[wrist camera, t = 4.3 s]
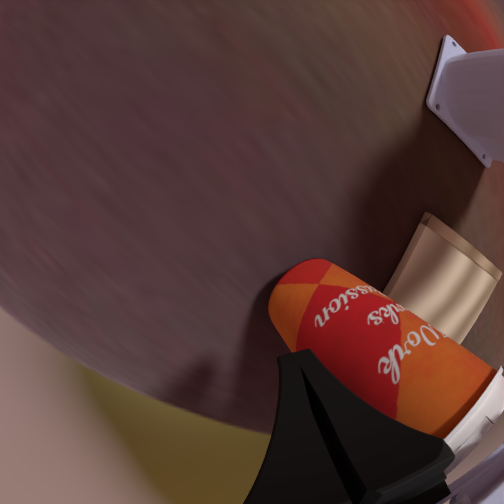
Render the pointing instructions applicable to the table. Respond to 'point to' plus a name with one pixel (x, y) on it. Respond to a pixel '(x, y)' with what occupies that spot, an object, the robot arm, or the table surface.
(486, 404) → the paper cup
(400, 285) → the birch board
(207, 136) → the table surface
